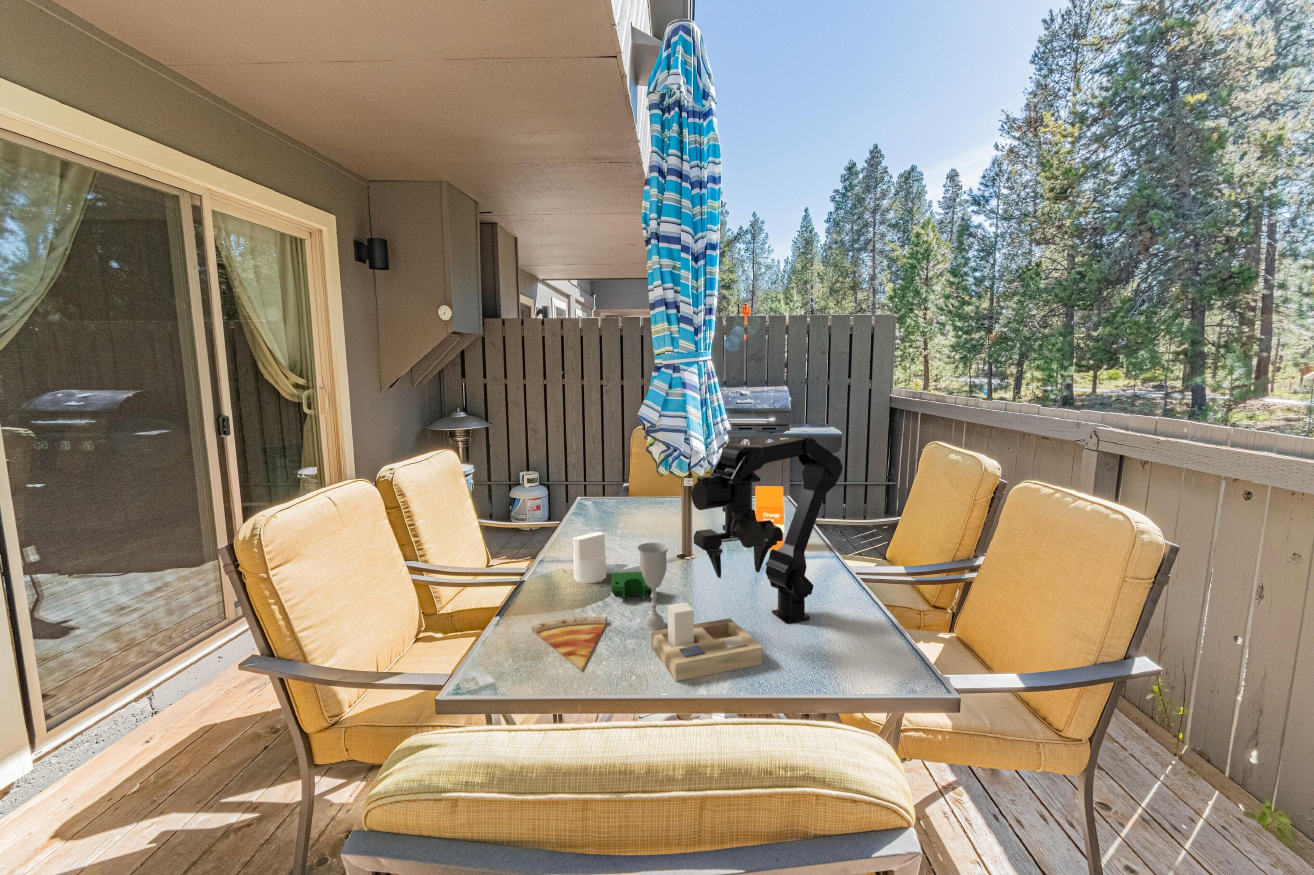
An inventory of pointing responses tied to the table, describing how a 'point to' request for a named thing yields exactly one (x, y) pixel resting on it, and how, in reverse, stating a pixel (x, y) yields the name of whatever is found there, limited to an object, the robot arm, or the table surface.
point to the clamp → (629, 584)
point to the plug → (680, 625)
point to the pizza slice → (572, 637)
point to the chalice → (653, 578)
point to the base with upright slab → (589, 558)
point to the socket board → (708, 650)
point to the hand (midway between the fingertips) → (738, 574)
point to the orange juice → (770, 507)
